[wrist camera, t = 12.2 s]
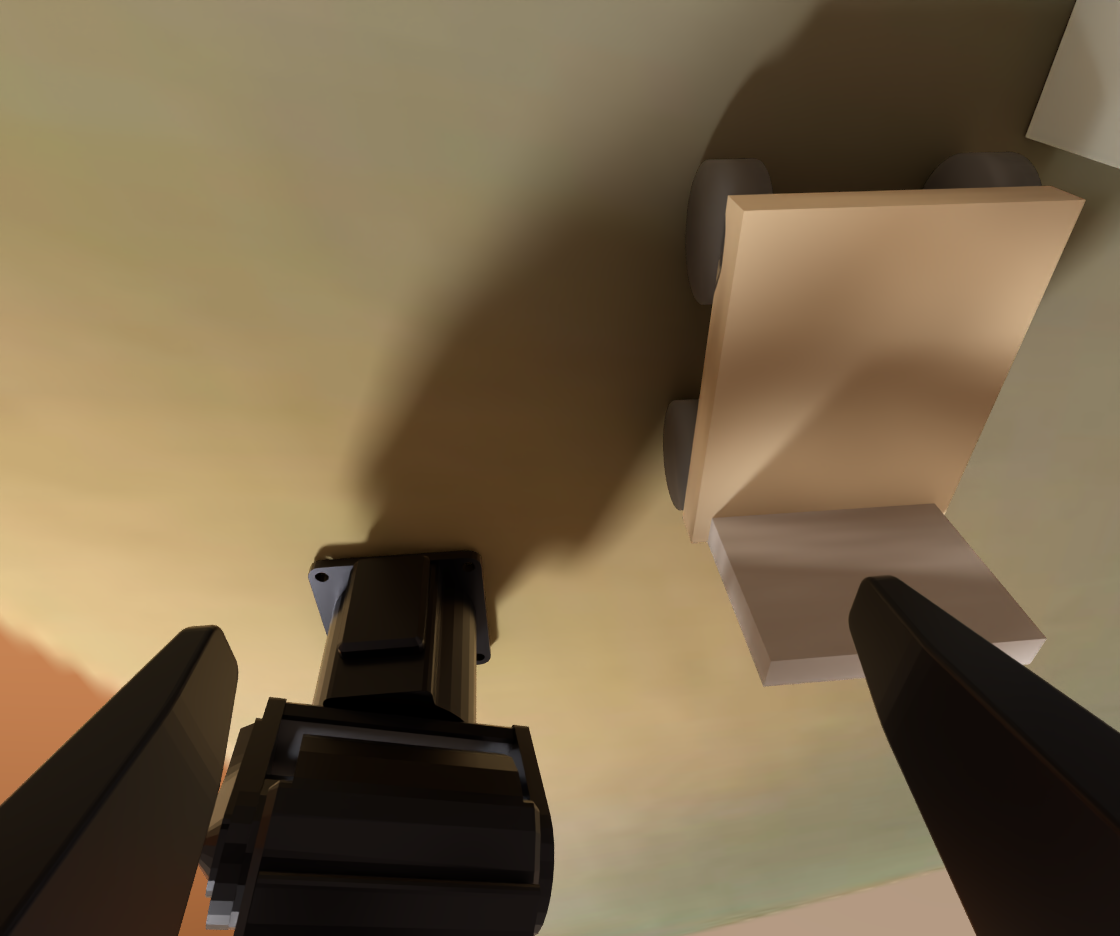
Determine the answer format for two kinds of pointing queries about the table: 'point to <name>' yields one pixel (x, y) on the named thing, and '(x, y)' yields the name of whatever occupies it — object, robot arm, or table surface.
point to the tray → (1084, 86)
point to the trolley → (853, 393)
